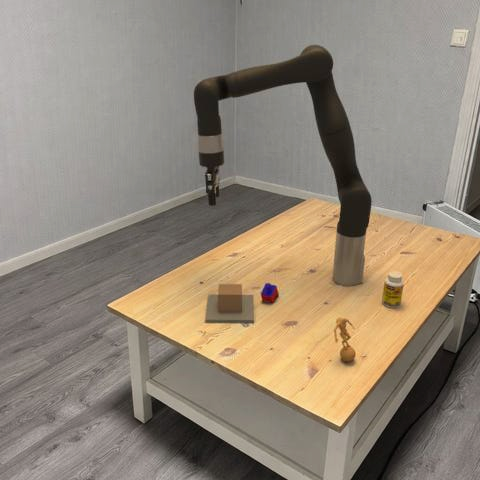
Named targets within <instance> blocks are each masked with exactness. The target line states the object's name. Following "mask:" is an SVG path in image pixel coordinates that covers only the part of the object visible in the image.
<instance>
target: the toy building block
mask: <svg viewBox="0 0 480 480" xmlns="http://www.w3.org/2000/svg"><path fill="white" fill-rule="evenodd" d="M279 295H280V293H279V290H278V287H277V285H275V284H271V283H270V282H267V283H264V286H263V288H262V289H261V292H260V296H261V299H262V301H263V302H267V303H272V304H274V303H275V300H276V298H278V297H280V296H279Z"/></svg>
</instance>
